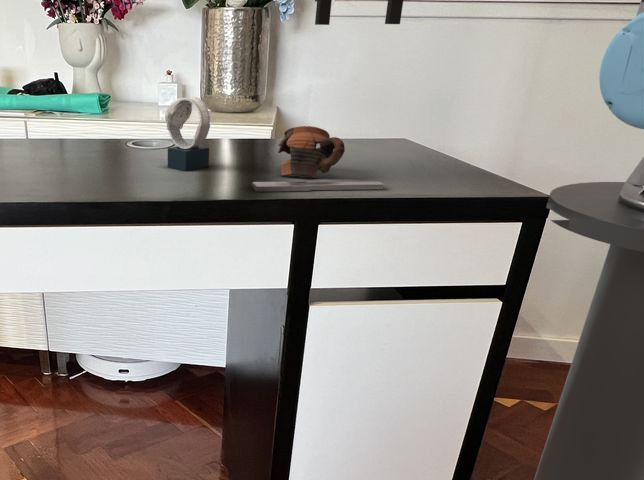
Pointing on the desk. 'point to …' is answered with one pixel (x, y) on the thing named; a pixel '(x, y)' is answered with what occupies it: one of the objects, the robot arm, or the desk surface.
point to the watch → (184, 154)
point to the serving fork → (315, 186)
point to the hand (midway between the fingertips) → (355, 24)
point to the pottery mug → (309, 151)
